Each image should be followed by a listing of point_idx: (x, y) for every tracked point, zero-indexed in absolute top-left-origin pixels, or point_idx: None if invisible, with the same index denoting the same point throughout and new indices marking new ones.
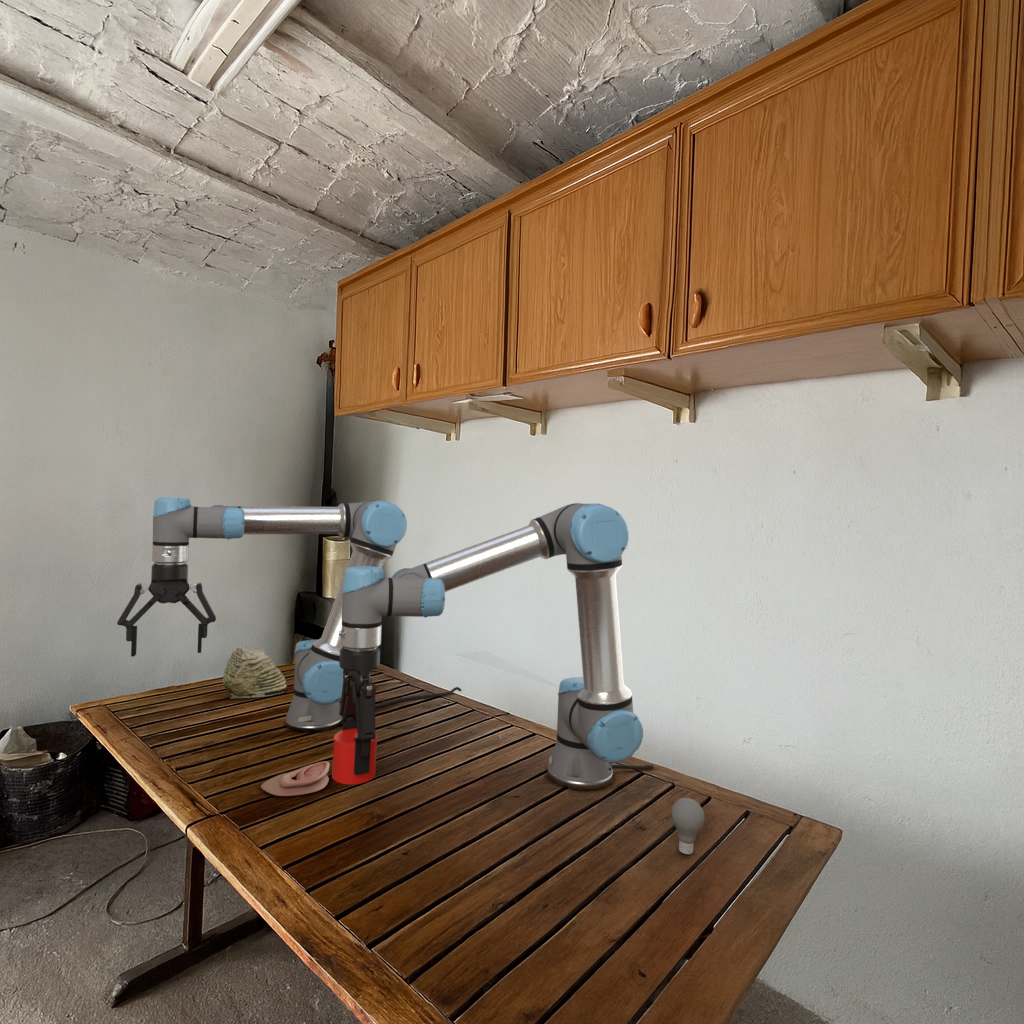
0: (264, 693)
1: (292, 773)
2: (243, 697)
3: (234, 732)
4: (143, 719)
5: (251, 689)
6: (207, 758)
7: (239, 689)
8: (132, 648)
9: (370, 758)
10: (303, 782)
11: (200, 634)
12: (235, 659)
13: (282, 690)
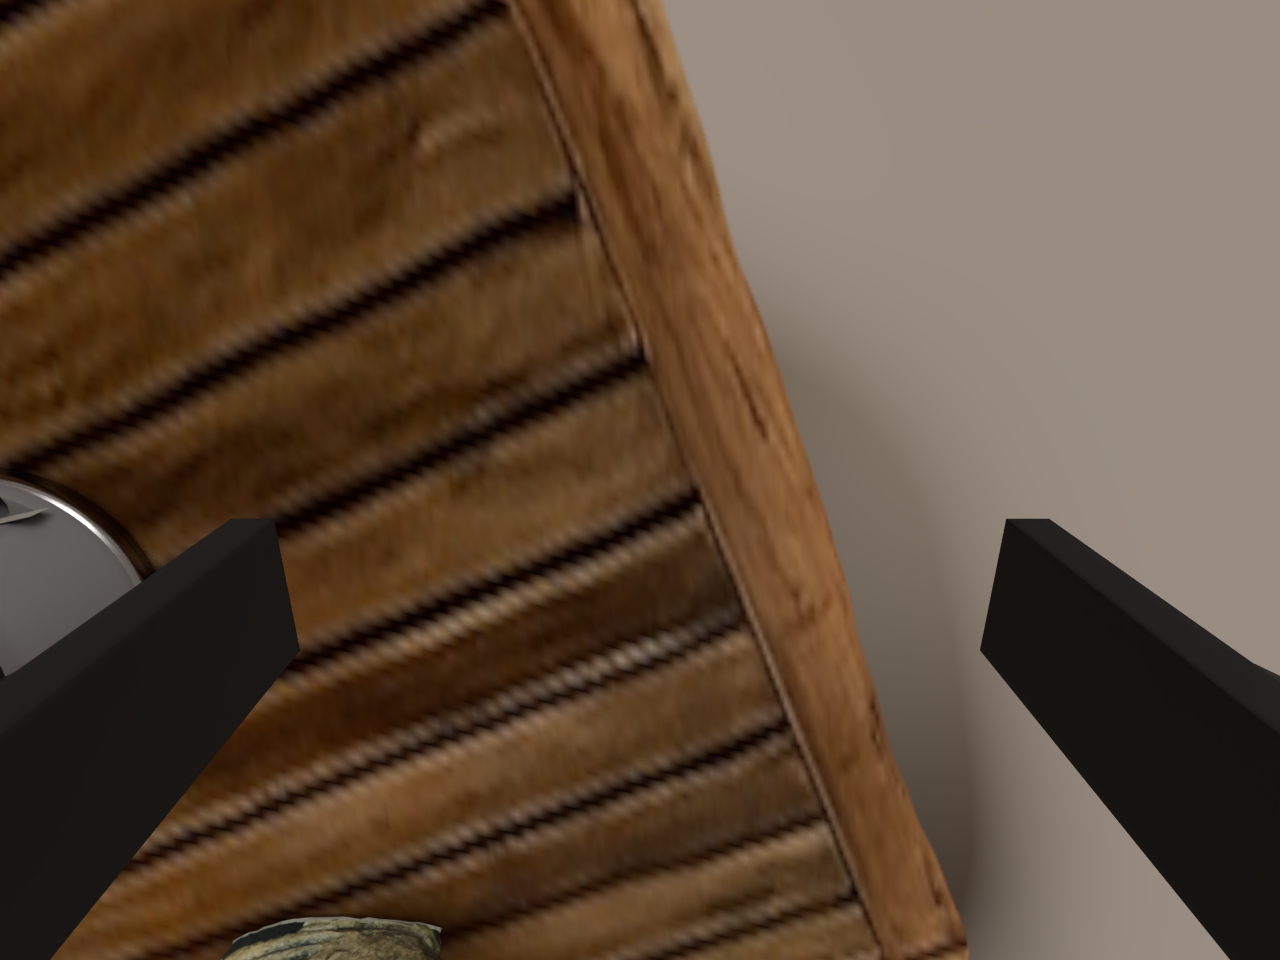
0: (300, 930)
1: None
2: (386, 920)
3: (377, 571)
4: (746, 799)
5: (342, 948)
6: (456, 297)
7: (388, 949)
8: (1102, 564)
9: None
10: None
11: (37, 669)
12: None
13: (230, 949)
